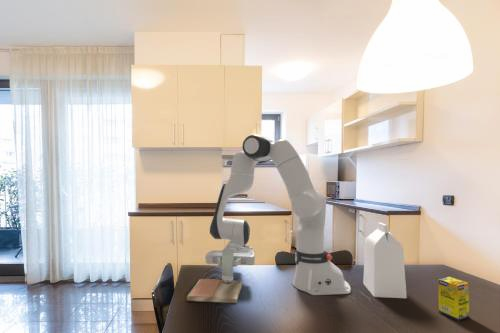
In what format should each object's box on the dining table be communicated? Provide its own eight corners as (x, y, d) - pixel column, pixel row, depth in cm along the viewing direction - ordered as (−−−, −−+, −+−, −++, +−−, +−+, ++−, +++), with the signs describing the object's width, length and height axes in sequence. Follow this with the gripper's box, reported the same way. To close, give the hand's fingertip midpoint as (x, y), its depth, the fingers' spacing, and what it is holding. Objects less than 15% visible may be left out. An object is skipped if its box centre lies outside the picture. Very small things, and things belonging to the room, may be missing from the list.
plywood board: (242, 284, 108) (242, 280, 108) (236, 303, 92) (236, 298, 92) (199, 282, 109) (199, 278, 109) (186, 300, 93) (187, 295, 94)
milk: (363, 283, 109) (362, 221, 110) (392, 284, 108) (390, 221, 109) (374, 296, 97) (372, 226, 98) (406, 298, 96) (405, 227, 97)
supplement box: (459, 321, 80) (457, 285, 81) (438, 312, 86) (437, 278, 86) (470, 317, 83) (469, 282, 83) (449, 309, 88) (448, 276, 89)
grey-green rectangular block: (234, 279, 102) (234, 249, 103) (232, 284, 98) (232, 252, 99) (222, 279, 103) (223, 248, 103) (220, 284, 98) (221, 251, 99)
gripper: (209, 245, 115) (200, 254, 101) (256, 247, 113) (253, 256, 99) (209, 260, 114) (200, 271, 101) (255, 261, 113) (253, 273, 99)
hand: (227, 264), depth 100 cm, fingers closed on grey-green rectangular block, 4 cm apart
